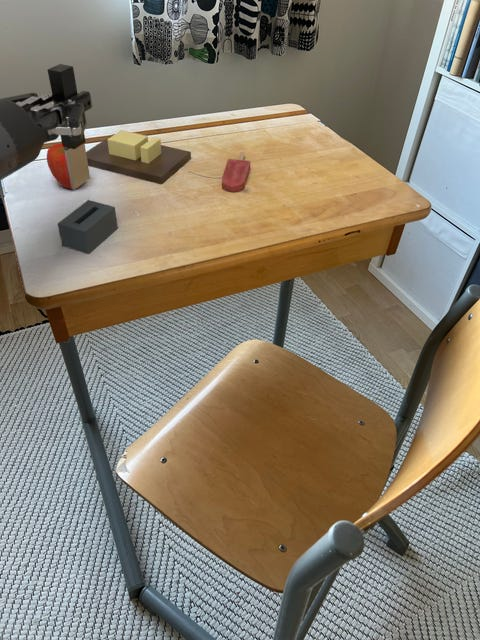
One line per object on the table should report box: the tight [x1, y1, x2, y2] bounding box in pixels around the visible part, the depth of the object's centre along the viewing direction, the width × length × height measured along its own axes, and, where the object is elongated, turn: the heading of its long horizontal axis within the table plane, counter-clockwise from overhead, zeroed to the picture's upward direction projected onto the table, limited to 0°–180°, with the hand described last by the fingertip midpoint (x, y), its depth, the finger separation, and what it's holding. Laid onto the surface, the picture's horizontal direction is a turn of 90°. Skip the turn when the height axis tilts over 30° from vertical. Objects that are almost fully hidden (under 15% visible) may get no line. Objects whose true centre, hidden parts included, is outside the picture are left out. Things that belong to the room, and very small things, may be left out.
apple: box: [46, 143, 82, 189], centre depth 91 cm, size 6×6×8 cm
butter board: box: [86, 133, 192, 185], centre depth 101 cm, size 18×12×2 cm, turn 67°
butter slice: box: [140, 137, 162, 164], centre depth 98 cm, size 2×5×3 cm, turn 157°
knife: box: [47, 63, 91, 191], centre depth 70 cm, size 2×4×16 cm, turn 157°
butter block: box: [106, 129, 149, 160], centre depth 100 cm, size 6×5×3 cm
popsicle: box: [221, 151, 251, 193], centre depth 99 cm, size 4×2×15 cm
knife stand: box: [56, 199, 119, 255], centre depth 80 cm, size 5×8×4 cm, turn 157°
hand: (80, 97), depth 69 cm, fingers closed on knife, 2 cm apart
